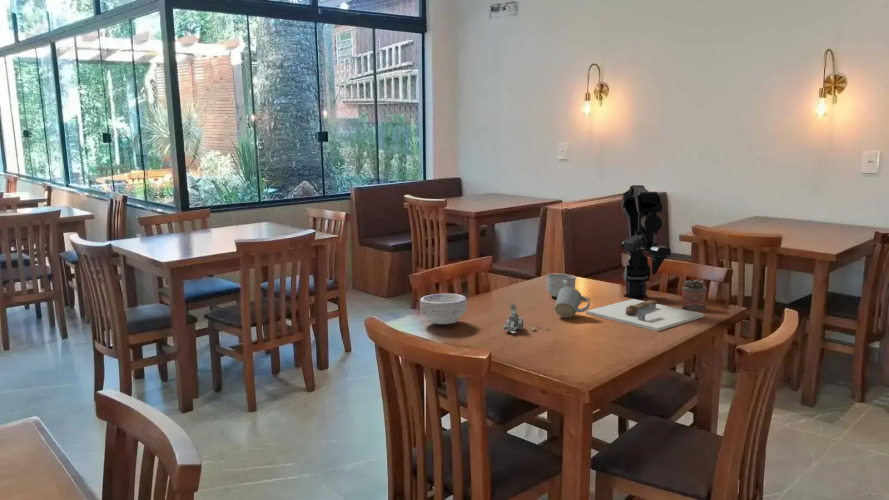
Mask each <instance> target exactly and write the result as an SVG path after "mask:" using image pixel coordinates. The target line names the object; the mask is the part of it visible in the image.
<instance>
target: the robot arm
mask: <svg viewBox="0 0 889 500" xmlns="http://www.w3.org/2000/svg"><path fill="white" fill-rule="evenodd" d="M622 194H623V195H622V197H621V201H620V202H621V203H620V204H621V207H620V208H621V209H622V213H623V215H624V216H625V217H626V219H627V220H628V222H627V223H628V236H629V237H627V238H626V239H624V240H623V241H622V243H621V249H624V252H626V253H627V254H628V255H629V258H628V260H627V261H626V265H625V267H624V270H623V280H624V281H625V282H626V289H625V294H623V296H624V297H627V298H630V299H636V300H640V299H642V298H646V297H648V294H647V284H646V282H649V281H650V277H651V274H652V275H656V274H657V272H658V271H659V269H660V267H661V265H662V263H663V262H664V260H666V258H668V257H669V256H671V255H672V254H671V253H672V249H671V247H669V246H665V245H658V242H656V241H655V238H656V235H658V232H659V231H660V230H661V228H662V227H663V221H662V219H661V217H660V216H658V214H659V213H663V212H662V210H663V201H662V198H661V197H660V196H661V195H659V194H658V192H657V191H649V190H648V189H647V188H646V187H645V186H644V185H643V184H638V185H637V184H636V185H635V184H634V185H633V184H631V185H629V189H628V190H627V191H625V192H623V193H622ZM643 251H645V252H649V253H650V255H649V258H650V259H651V267H650V265H649V259H648V257H647V255H645V254H644V252H643ZM651 272H652V273H651Z"/></svg>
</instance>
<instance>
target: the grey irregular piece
mask: <svg viewBox="0 0 889 500" xmlns="http://www.w3.org/2000/svg"><path fill="white" fill-rule="evenodd" d="M502 329H503V331H508V332H510V333H512V334H515V333H517V331H516V330H522V329H524V318H522V317H520V316H519V313H517V306H516V304H511V306H510V315H509V317H508V319H507V320H506V321H505V324H504V325H503V327H502ZM531 329H532V330H534V329H537V327H535V326H532V327H531Z"/></svg>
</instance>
